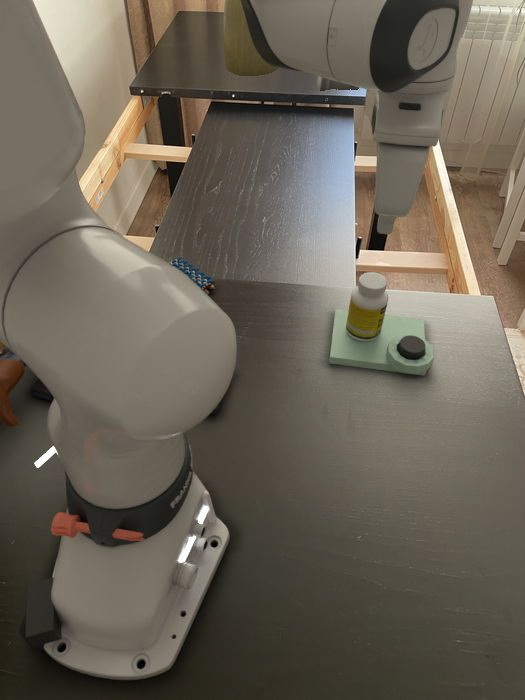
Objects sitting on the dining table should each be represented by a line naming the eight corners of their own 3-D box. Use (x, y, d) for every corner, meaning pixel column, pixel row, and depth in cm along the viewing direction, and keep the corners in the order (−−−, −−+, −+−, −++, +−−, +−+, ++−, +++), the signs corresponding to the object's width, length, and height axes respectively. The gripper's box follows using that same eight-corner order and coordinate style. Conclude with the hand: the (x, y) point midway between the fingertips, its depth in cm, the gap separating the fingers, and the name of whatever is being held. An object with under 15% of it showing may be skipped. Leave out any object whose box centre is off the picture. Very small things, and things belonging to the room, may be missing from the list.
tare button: (423, 361, 76) (426, 354, 75) (398, 358, 77) (400, 351, 76) (422, 344, 79) (425, 336, 78) (398, 341, 79) (400, 333, 78)
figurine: (62, 431, 65) (156, 284, 86) (7, 373, 59) (121, 232, 80) (-43, 442, 74) (65, 308, 95) (-100, 394, 68) (28, 262, 89)
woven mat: (131, 289, 92) (129, 279, 90) (180, 263, 97) (178, 254, 96) (168, 317, 86) (167, 308, 85) (217, 289, 92) (217, 279, 90)
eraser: (94, 408, 71) (97, 416, 72) (109, 385, 74) (112, 393, 75) (23, 387, 74) (27, 395, 75) (40, 366, 76) (44, 374, 78)
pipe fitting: (321, 68, 146) (316, 63, 154) (317, 100, 150) (312, 93, 159) (364, 72, 147) (356, 67, 155) (358, 104, 151) (351, 97, 160)
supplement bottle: (379, 345, 80) (391, 294, 73) (343, 340, 81) (351, 289, 74) (381, 321, 84) (392, 271, 77) (347, 316, 85) (355, 266, 78)
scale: (430, 382, 77) (435, 368, 75) (328, 369, 79) (330, 355, 77) (426, 326, 85) (431, 312, 83) (334, 315, 87) (336, 301, 85)
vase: (213, 78, 165) (207, -27, 146) (249, 64, 174) (248, -36, 155) (255, 92, 157) (255, -18, 138) (291, 76, 167) (295, -28, 147)
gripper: (379, 65, 66) (363, 171, 75) (374, 132, 51) (355, 252, 61) (431, 68, 65) (408, 175, 75) (442, 138, 51) (411, 259, 60)
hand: (384, 211), depth 68 cm, fingers open, 8 cm apart
